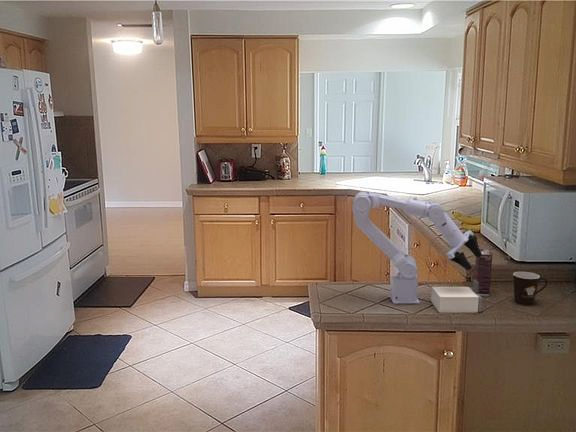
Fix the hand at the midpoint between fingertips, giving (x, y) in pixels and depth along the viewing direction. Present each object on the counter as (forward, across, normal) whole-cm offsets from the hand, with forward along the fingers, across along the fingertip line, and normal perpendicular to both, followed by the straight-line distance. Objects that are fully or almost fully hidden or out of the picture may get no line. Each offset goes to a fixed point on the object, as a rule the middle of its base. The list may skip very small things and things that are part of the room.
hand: (474, 262), depth 191 cm
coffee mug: (+25, +7, -1) cm, 26 cm away
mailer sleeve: (+8, -13, +8) cm, 17 cm away
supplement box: (+15, +6, +13) cm, 21 cm away
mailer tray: (+8, -12, +7) cm, 16 cm away
